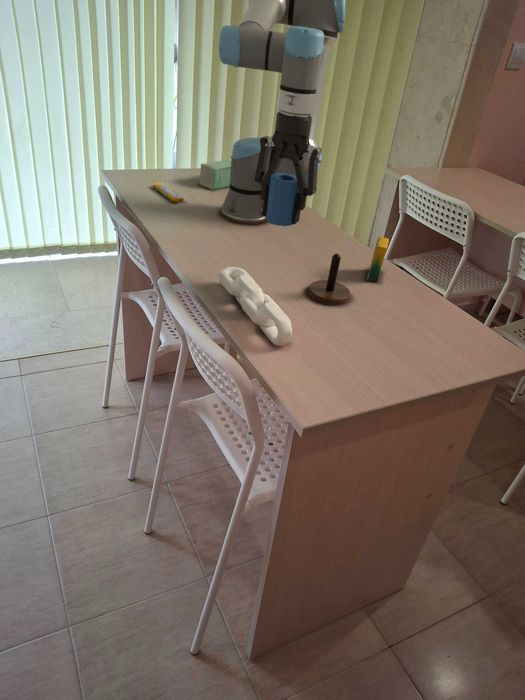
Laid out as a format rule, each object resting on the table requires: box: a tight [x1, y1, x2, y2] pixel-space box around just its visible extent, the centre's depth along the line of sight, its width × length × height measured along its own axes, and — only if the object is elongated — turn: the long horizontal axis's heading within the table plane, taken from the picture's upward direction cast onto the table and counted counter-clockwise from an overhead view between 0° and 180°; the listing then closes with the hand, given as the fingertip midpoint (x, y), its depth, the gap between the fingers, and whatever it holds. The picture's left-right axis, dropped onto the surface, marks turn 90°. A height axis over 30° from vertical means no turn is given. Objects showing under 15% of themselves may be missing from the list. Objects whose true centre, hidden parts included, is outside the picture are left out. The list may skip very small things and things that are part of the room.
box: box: [199, 159, 231, 191], centre depth 192 cm, size 7×14×8 cm, turn 137°
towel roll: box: [266, 173, 299, 227], centre depth 123 cm, size 7×7×10 cm
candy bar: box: [151, 181, 184, 203], centre depth 178 cm, size 17×4×2 cm, turn 34°
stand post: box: [326, 253, 342, 291], centre depth 129 cm, size 2×2×10 cm
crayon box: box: [366, 229, 390, 283], centre depth 142 cm, size 7×3×12 cm, turn 164°
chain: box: [218, 266, 293, 347], centre depth 120 cm, size 30×6×6 cm, turn 26°
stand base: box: [308, 279, 351, 306], centre depth 133 cm, size 10×10×2 cm
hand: (280, 218), depth 125 cm, fingers closed on towel roll, 7 cm apart
